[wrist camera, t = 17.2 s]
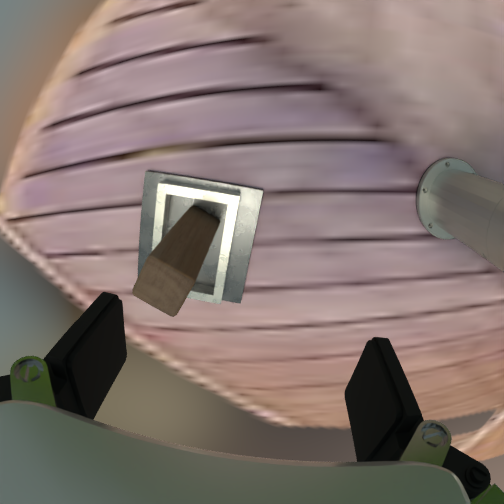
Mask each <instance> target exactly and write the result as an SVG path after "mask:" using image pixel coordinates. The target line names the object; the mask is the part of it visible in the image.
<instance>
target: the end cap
mask: <svg viewBox="0 0 504 504" xmlns="http://www.w3.org/2000/svg"><path fill="white" fill-rule="evenodd" d="M262 194H263V189H258V188H253V187H247V186H242V185H236V184H231V183H225V182H219V181H214V180H208V179H202V178H195V177H189V176H183V175H176V174H169V173H162V172H155V171H145V179H144V188H143V199H142V210H141V223H140V239H139V258H138V276H139V274H140V272H141V270H142V268H143V266H144V263H145V261H146V259H147V257H148V256H149V254H150V253H151V252H152V251H153V250H154V248H155V247H156V246H157V245H158V244H159V242H160V241H161V240H162V239H163V238H164V237H165V235H166V234H167V233H168V232H169V231H170V230H171V228H172V227H173V226H174V225H175V224H176V223H177V221H178V220H179V219H180V218H181V217H182V216H183V214H184V213H185V212H186V211H187V210H188V209H189V208H190V207H191V206H192V205H193V206H196V207H198V208H199V209H201V210H203V211H205V212H206V213H208V214H210V215H212V216H213V217H215V218H217V219H219V221H220V224H219V227H218V229H217V231H216V234H215V236H214V238H213V241H212V243H211V246H210V248H209V250H208V253H207V255H206V257H205V260H204V262H203V265H202V267H201V270H200V272H199V274H198V277H197V279H196V282H195V284H194V286H193V287H192V289H191V291H190V293H189V294H188V296H187V298H191V299H196V300H201V301H207V302H212V303H217V304H221V301H222V300H224V301H230V302H235V303H241V298H242V293H243V288H244V283H245V279H246V274H247V269H248V264H249V259H250V254H251V249H252V244H253V239H254V234H255V229H256V224H257V219H258V214H259V209H260V204H261V199H262Z"/></svg>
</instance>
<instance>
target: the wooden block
mask: <svg viewBox="0 0 504 504" xmlns="http://www.w3.org/2000/svg"><path fill="white" fill-rule="evenodd" d="M219 224H220V221H219V219H217V218H215V217H213V216H212V215H210V214H208V213H206V212H205V211H203V210H201V209H199V208H198V207H196V206H193V205H192V206H191V207H190V208H189V209H188V210H187V211H186V212H185V213H184V214H183V216H182V217H181V218H180V219H179V220H178V221H177V223H176V224H175V225H174V226H173V227H172V228H171V230H170V231H169V232H168V233H167V234H166V235H165V237H164V238H163V239H162V240H161V241H160V242H159V244H158V245H157V246H156V247H155V248H154V250H153V251H152V252H151V253H150V254H149V256H148V257H147V259H146V261H145V263H144V266H143V268H142V270H141V272H140V274H139V276H138V279H137V281H136V283H135V285H134V288H133V295H134V296H136V297H137V298H139V299H141V300H143V301H144V302H146V303H148V304H150V305H151V306H153V307H155V308H157V309H159V310H160V311H162V312H164V313H166V314H168V315H170V316H172V317H174V316H175V315H177V313H178V312H179V310H180V308H181V306H182V305H183V303H184V301H185V299H186V298H187V296H188V294H189V293H190V291H191V289H192V287H193V286H194V284H195V282H196V279H197V277H198V274H199V272H200V270H201V267H202V265H203V262H204V260H205V257H206V255H207V253H208V250H209V248H210V246H211V243H212V241H213V238H214V236H215V234H216V231H217V229H218V227H219Z"/></svg>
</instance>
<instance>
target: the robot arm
mask: <svg viewBox="0 0 504 504" xmlns="http://www.w3.org/2000/svg"><path fill="white" fill-rule="evenodd" d="M445 163H446V164H445ZM423 188H424V190H423ZM416 205H417V212H418V215H419V218H420V221H421V223H422V224H423V226H424V227H425V228H426V230H427V231H428V232H430V233H431V234H432V235H434V236H436V237H437V238H441V239H454V238H456V239H458V240H459V241H461V242H462V243H464V244H465V245H467V246H468V247H469V248H471V249H472V250H474V251H475V252H476V253H478V254H479V255H481V256H482V257H483V258H485V259H486V260H488V261H489V262H490V263H492V264H493V265H494V266H496V267H497V268H499V269H500V270H501V271H503V272H504V184H502V183H499V182H496V181H494V180H490V179H487V178H484V177H481V176H478V175H477V174H476V172H475V171H474V169H473V168H472V167H471V166H470V165H469V164H468V163H466V162H464V161H463V160H460V159H456V158H444V159H441V160H439V161H437V162H435V163H434V164H432V165H431V166H430V167H429V168H428V169H427V171H426V172H425V174H424V175H423V177H422V179H421V181H420V184H419V187H418V191H417V197H416ZM126 357H127V350H126V341H125V330H124V318H123V304H122V300H120V299H119V297H118V296H117V295H115V294H111V293H107V292H103V293H101V294H100V296H99V297H98V298H97V299H96V300H95V301H94V302H93V303H92V304H91V305H90V307H89V308H88V309H87V310H86V311H85V312H84V313H83V314H82V315H81V317H80V318H79V319H78V320H77V321H76V322H75V323H74V324H73V325H72V326H71V327H70V328H69V329H68V331H67V332H66V333H65V334H64V335H63V336H62V338H61V339H60V340H59V341H58V342H57V343H56V345H55V346H54V347H53V348H52V349H51V351H50V352H49V353H48V354H47V355H46V357H45V358H44V359H41V358H39V357H36V356H25V357H22V358H20V359H18V360H17V361H15V362H14V364H13V365H12V367H11V370H10V375H6V376H1V377H0V504H504V492H503V491H502V490H501V489H500V488H499V487H498V486H497V485H496V484H493V485H491V484H490V480H491V478H490V473H489V471H488V469H487V468H486V467H485V466H484V465H483V464H482V463H480V462H478V461H476V460H475V459H473V458H471V457H469V456H468V455H466V454H464V453H463V452H461V451H459V450H458V449H456V448H454V447H452V446H451V445H450V444H451V440H452V438H451V433H450V431H449V430H448V428H447V427H446V426H445V425H443V424H442V423H441V422H438V421H436V420H425V421H424V420H423V417H422V414H421V411H420V409H419V406H418V404H417V402H416V399H415V397H414V394H413V392H412V390H411V387H410V385H409V383H408V380H407V378H406V376H405V374H404V371H403V369H402V367H401V365H400V362H399V360H398V358H397V356H396V354H395V351H394V349H393V347H392V345H391V343H390V341H389V339H388V338H380V337H373V338H372V340H369V341H368V342H367V343H366V346H365V348H364V350H363V353H362V355H361V357H360V359H359V362H358V364H357V366H356V368H355V370H354V373H353V375H352V377H351V379H350V381H349V383H348V385H347V387H346V390H345V401H346V406H347V411H348V416H349V421H350V426H351V430H352V435H353V441H354V446H355V452H356V457H357V462H311V461H292V460H278V459H268V458H267V459H266V458H257V457H249V456H241V455H234V454H227V453H221V452H215V451H209V450H204V449H199V448H194V447H189V446H184V445H179V444H175V443H171V442H166V441H162V440H158V439H154V438H151V437H146V436H143V435H140V434H136V433H133V432H129V431H126V430H123V429H120V428H117V427H113V426H110V425H107V424H104V423H101V422H98V421H95V420H93V419H94V417H95V416H96V413H97V411H98V410H99V408H100V406H101V404H102V402H103V401H104V399H105V397H106V395H107V393H108V391H109V390H110V388H111V386H112V384H113V382H114V381H115V379H116V377H117V375H118V373H119V372H120V370H121V368H122V366H123V364H124V363H125V361H126Z"/></svg>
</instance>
